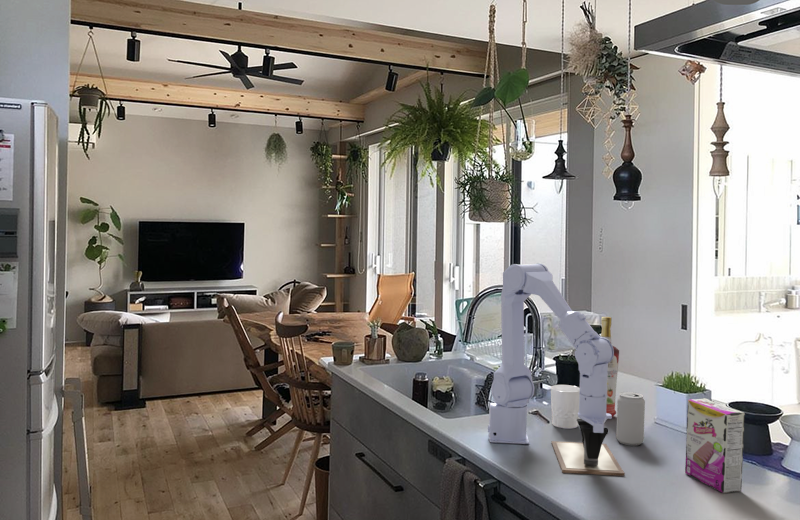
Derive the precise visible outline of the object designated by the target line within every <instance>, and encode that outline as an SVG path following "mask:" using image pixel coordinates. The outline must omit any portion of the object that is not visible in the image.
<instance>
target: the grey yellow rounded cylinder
mask: <svg viewBox="0 0 800 520" xmlns="http://www.w3.org/2000/svg"><path fill="white" fill-rule="evenodd" d="M584 464H585V465H587V466H591V467H595V466H598V459H588V457H587V453H586V444H585V438H584Z"/></svg>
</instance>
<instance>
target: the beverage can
mask: <svg viewBox="0 0 800 520" xmlns="http://www.w3.org/2000/svg"><path fill="white" fill-rule="evenodd" d="M618 395H619V396H618V397H617V403H616V405H617V406H616V433H615V434H616V440H617V441H618V442H619V443H620V444H622V445H626V446H632V447H633V446H640V445H641V444H642V443H644V442H645V439H644V438H645V409H646V408H645V407H646V400H645V398H644V395H643V394H641V393H639V392H634V391H633V392H632V391H623V392H619V393H618Z"/></svg>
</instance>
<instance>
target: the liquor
mask: <svg viewBox="0 0 800 520" xmlns="http://www.w3.org/2000/svg"><path fill="white" fill-rule="evenodd" d="M611 328H612V317H611V316H601V335H600V337H604V338H607V339H608V340H609V341H610V343H611V344H612V336H611V334H612V332H611V330H612V329H611ZM612 346H613V349H614V356H613V359H612V360H611V361H610V362H609V363H608V374H607V404H606V413H609V414H611V415H612V418H613V417H614V416H616V415H617V410H616V398H617V397H616V396H617V395H616V394H617V393H616V392H617V381H618V373H619V361H620V360H619V358H620V350H619V349H618V348H617V347H616V346H614V345H612Z"/></svg>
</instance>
